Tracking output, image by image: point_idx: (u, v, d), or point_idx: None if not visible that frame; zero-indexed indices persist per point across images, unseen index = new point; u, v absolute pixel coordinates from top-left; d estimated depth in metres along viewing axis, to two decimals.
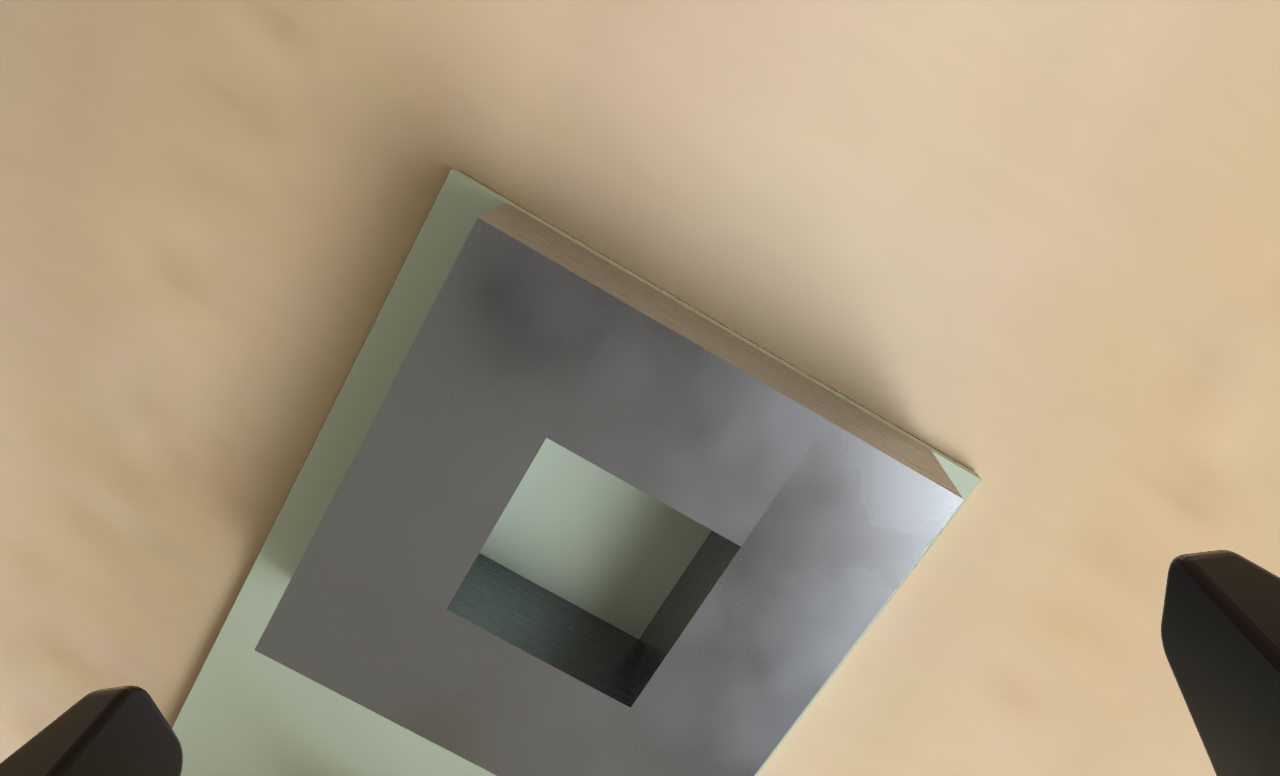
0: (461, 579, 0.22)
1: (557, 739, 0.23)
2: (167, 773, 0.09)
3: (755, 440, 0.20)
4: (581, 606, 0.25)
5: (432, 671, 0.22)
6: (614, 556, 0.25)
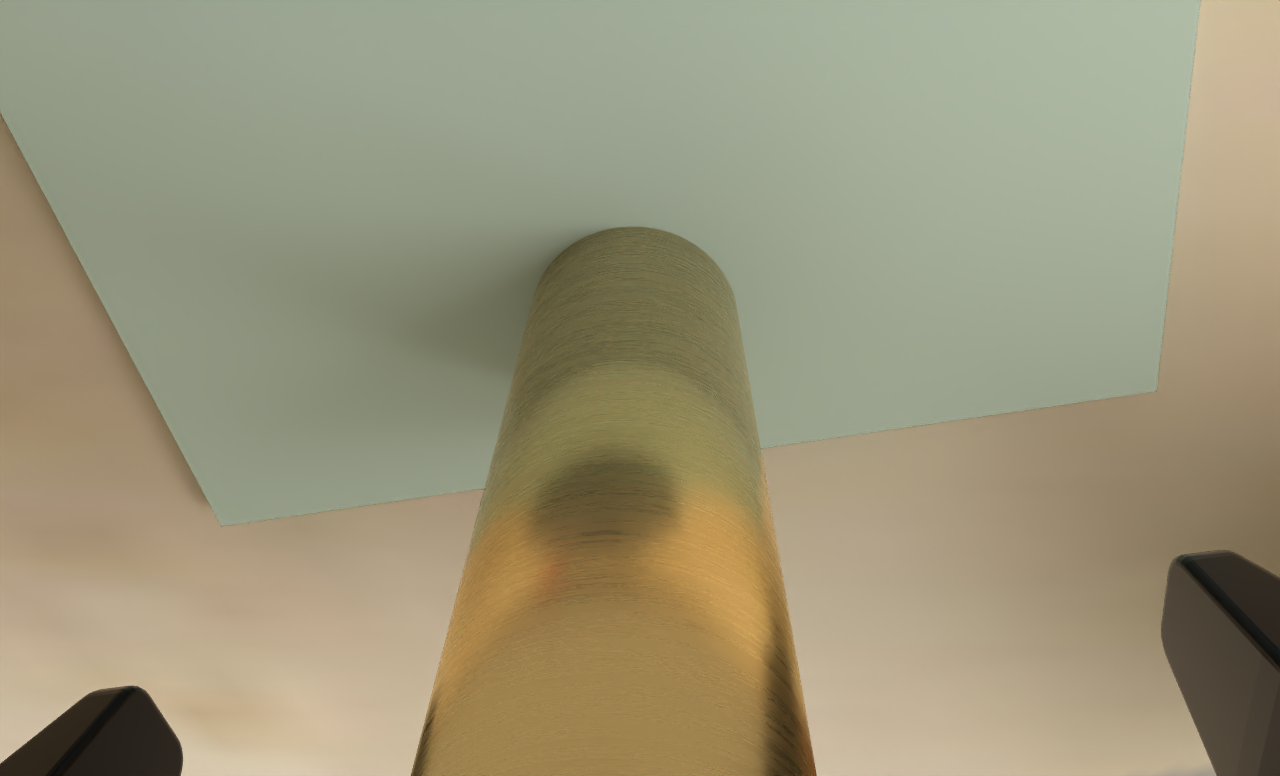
0: None
1: None
2: (167, 773, 0.09)
3: None
4: None
5: None
6: None
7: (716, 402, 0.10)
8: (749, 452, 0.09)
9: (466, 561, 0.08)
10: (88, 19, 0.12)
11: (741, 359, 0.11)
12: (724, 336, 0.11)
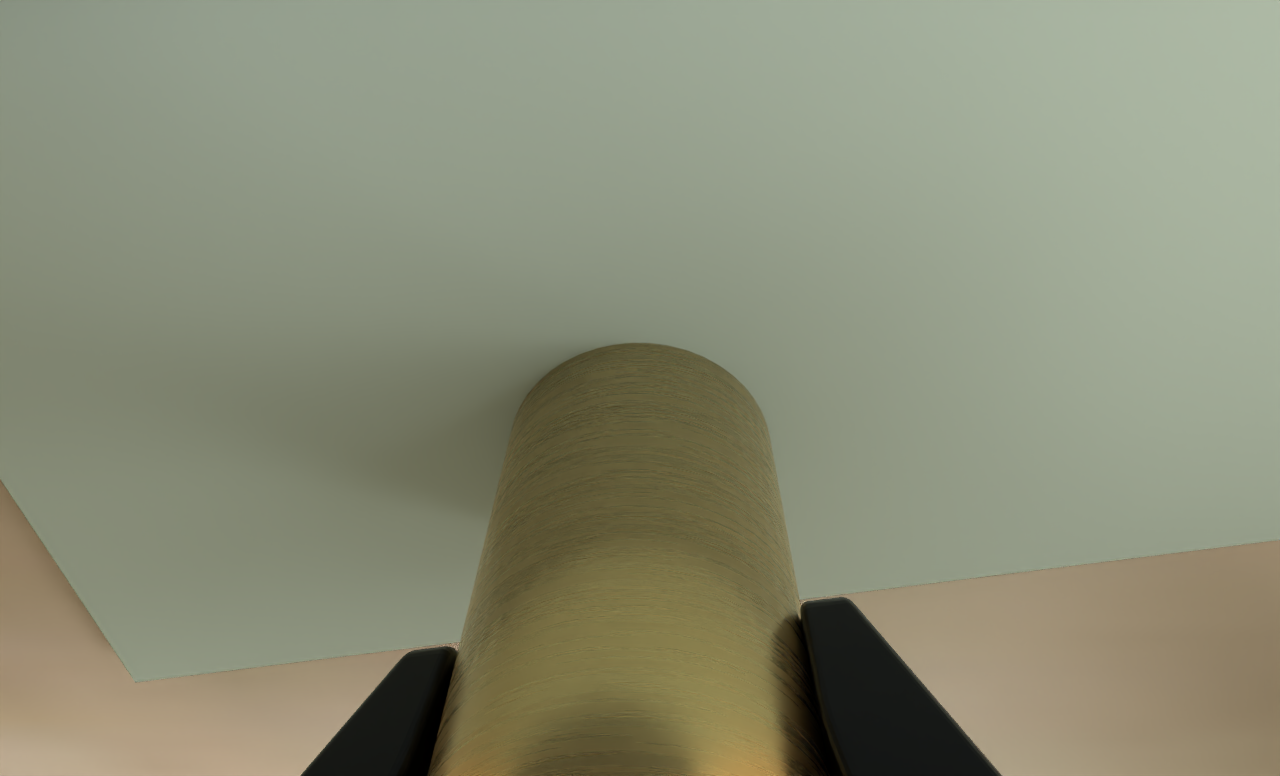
0: None
1: None
2: None
3: None
4: None
5: None
6: None
7: (759, 651, 0.07)
8: (807, 730, 0.06)
9: None
10: None
11: (784, 541, 0.08)
12: (762, 514, 0.08)
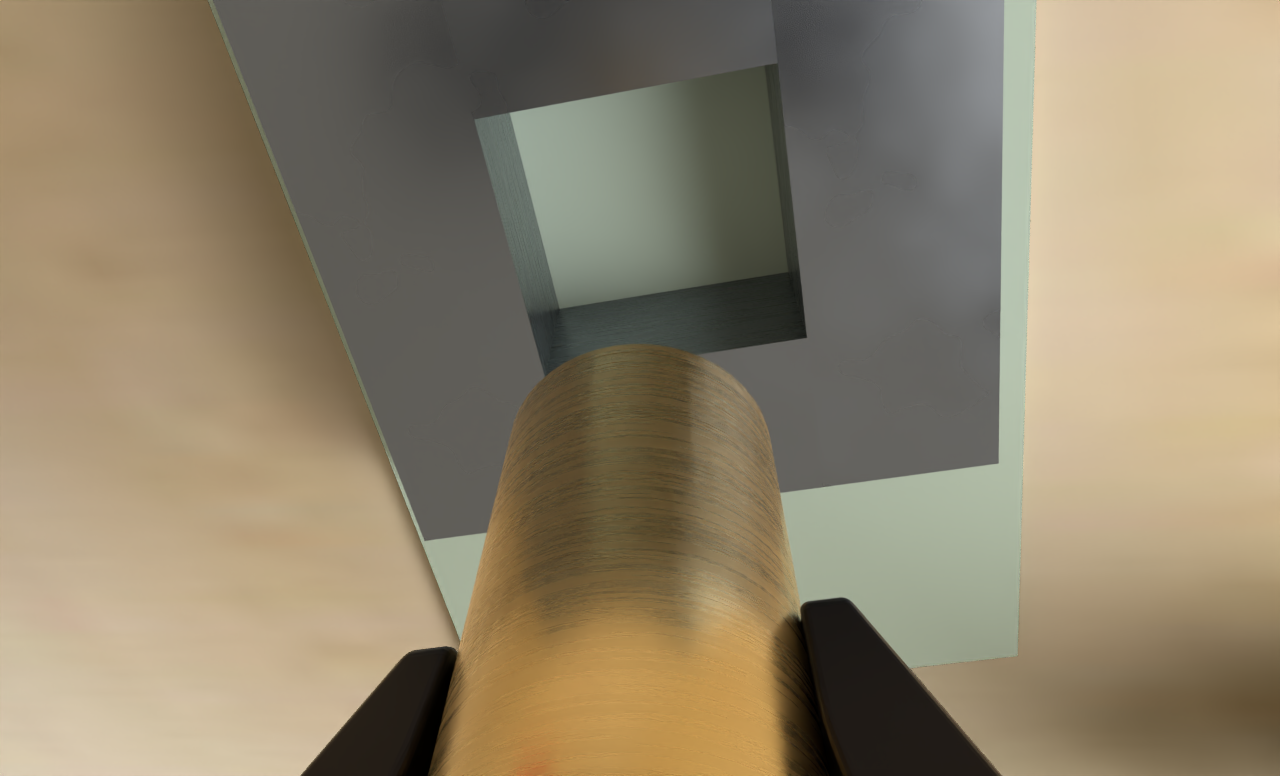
0: (531, 337, 0.17)
1: None
2: None
3: None
4: (704, 283, 0.20)
5: None
6: (692, 205, 0.19)
7: (760, 653, 0.07)
8: (807, 731, 0.06)
9: None
10: None
11: (784, 542, 0.08)
12: (762, 515, 0.08)
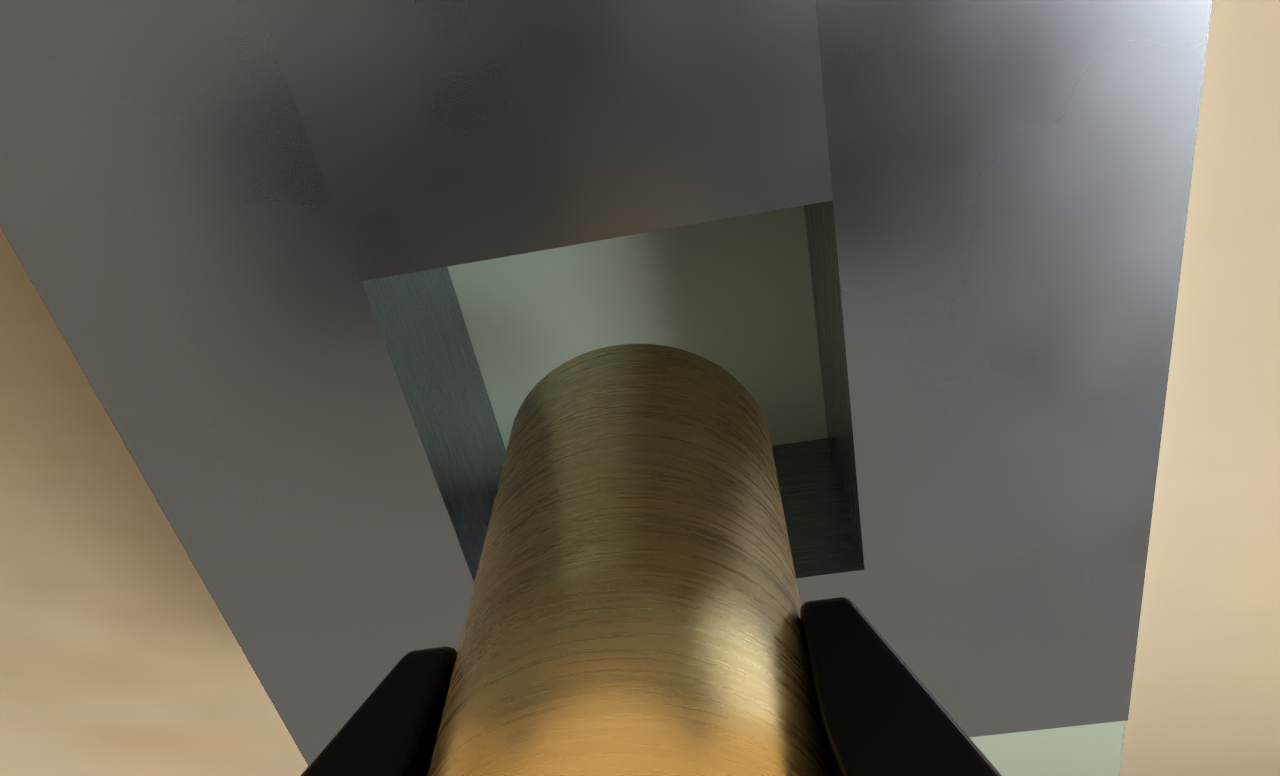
0: (466, 568, 0.12)
1: None
2: None
3: None
4: None
5: None
6: None
7: (760, 652, 0.07)
8: (807, 732, 0.06)
9: None
10: None
11: (784, 542, 0.08)
12: (762, 515, 0.08)
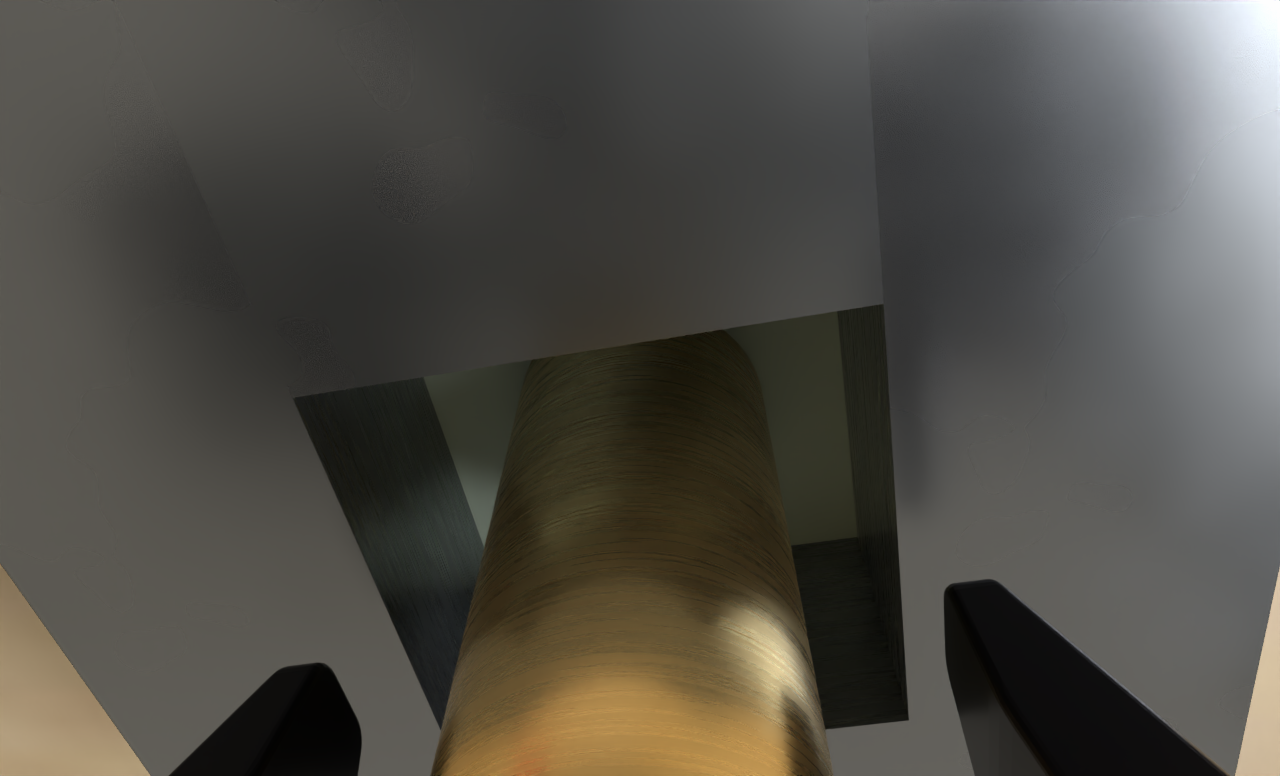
0: (431, 717, 0.10)
1: None
2: (352, 752, 0.08)
3: (705, 29, 0.06)
4: None
5: None
6: None
7: (750, 558, 0.08)
8: (791, 626, 0.07)
9: None
10: None
11: (773, 476, 0.09)
12: (753, 450, 0.09)
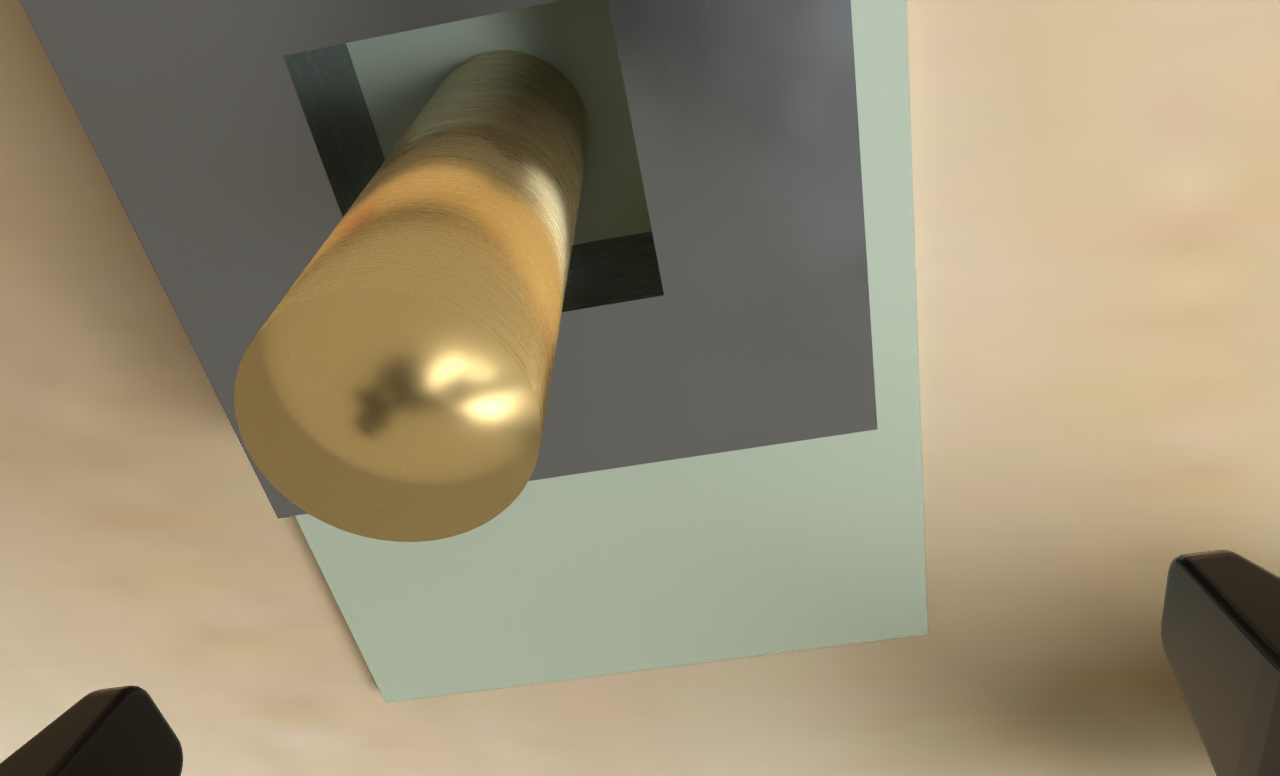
0: None
1: (624, 388, 0.17)
2: (167, 773, 0.09)
3: None
4: (573, 242, 0.19)
5: None
6: None
7: (535, 132, 0.14)
8: (554, 163, 0.14)
9: None
10: None
11: (572, 131, 0.16)
12: (557, 111, 0.15)
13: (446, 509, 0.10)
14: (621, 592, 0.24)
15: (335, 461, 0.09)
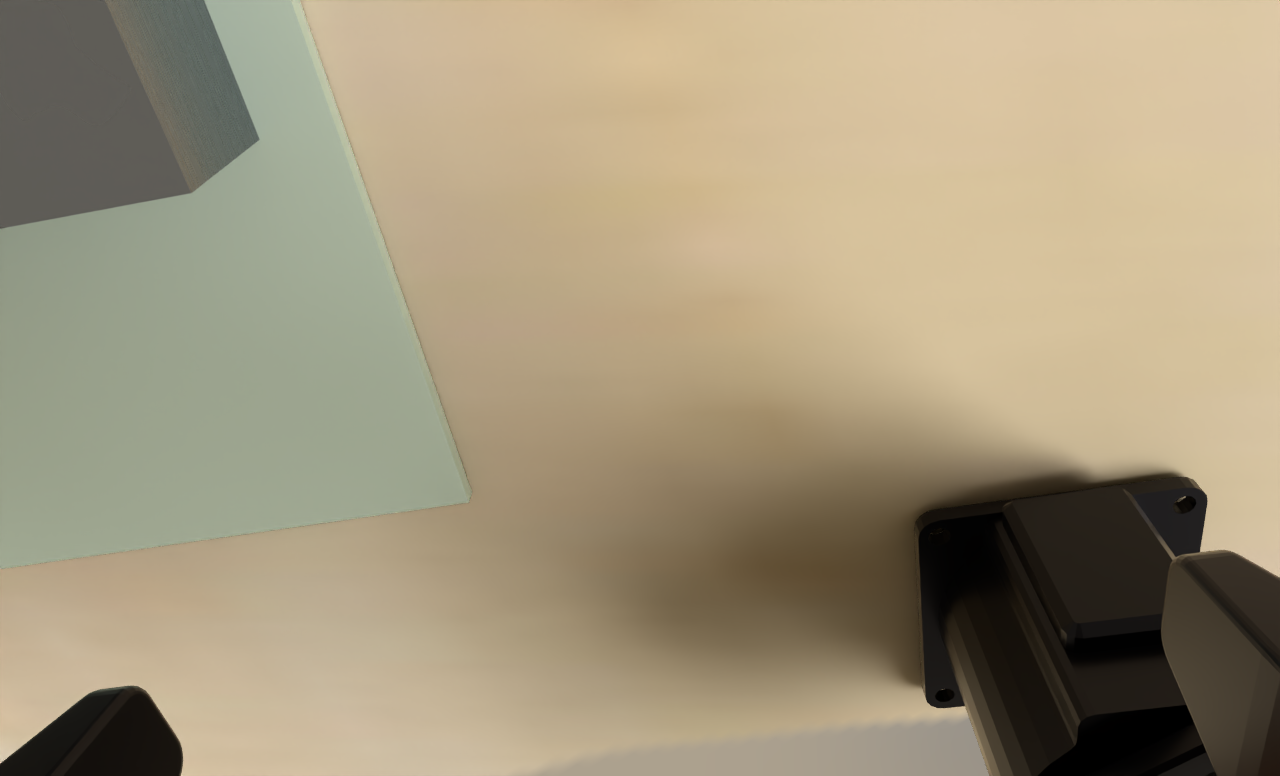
0: None
1: None
2: (167, 773, 0.09)
3: None
4: None
5: None
6: None
7: None
8: None
9: None
10: None
11: None
12: None
13: None
14: (109, 448, 0.21)
15: None
